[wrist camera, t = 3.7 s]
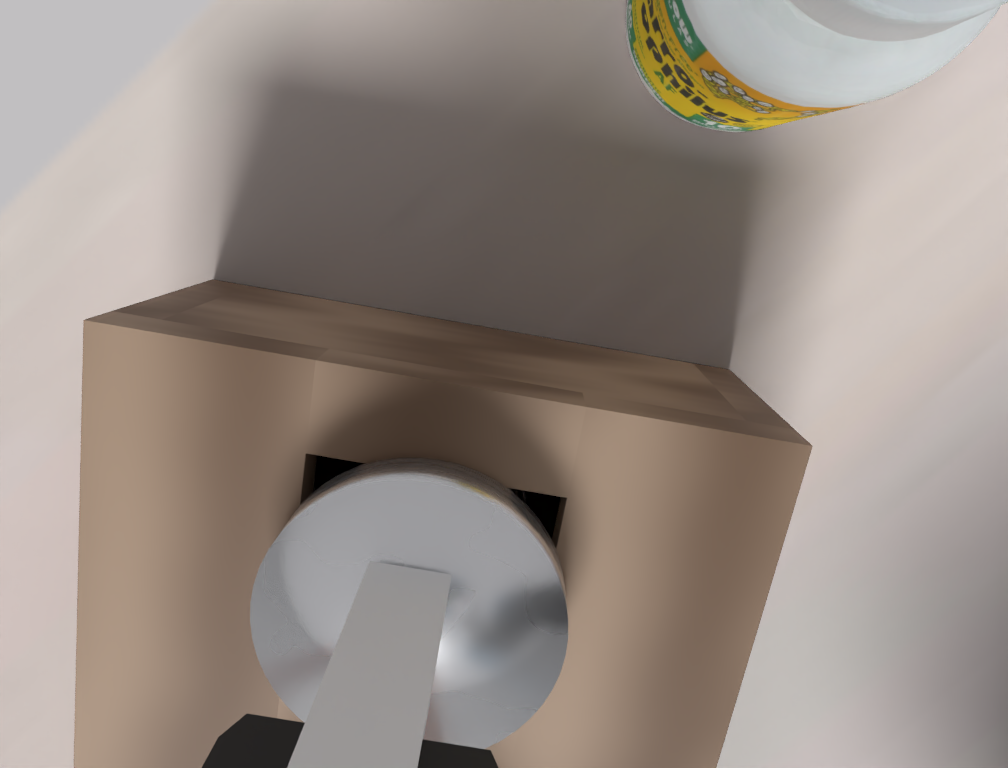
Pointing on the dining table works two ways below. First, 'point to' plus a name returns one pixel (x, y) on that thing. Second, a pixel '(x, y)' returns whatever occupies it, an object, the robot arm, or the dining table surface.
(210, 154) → the dining table surface
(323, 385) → the control box
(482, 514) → the button
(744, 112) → the supplement bottle
